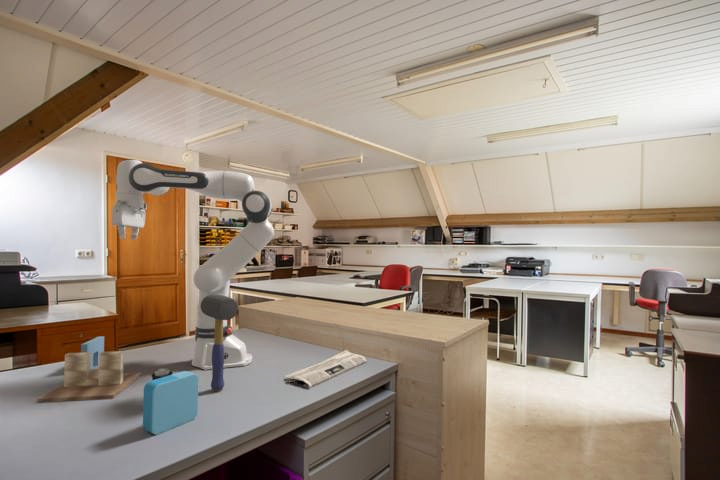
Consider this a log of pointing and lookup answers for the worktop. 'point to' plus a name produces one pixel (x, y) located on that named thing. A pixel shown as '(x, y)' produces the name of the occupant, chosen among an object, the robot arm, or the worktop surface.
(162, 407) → the blue carrying case
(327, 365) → the newspaper
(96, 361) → the slotted plate
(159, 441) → the worktop surface
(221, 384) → the rubber mallet
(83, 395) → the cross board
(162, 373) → the push button
